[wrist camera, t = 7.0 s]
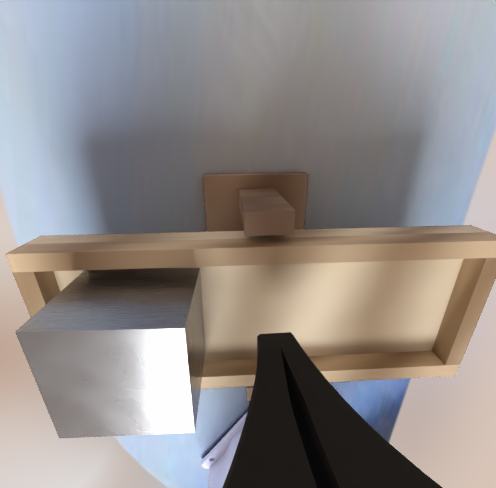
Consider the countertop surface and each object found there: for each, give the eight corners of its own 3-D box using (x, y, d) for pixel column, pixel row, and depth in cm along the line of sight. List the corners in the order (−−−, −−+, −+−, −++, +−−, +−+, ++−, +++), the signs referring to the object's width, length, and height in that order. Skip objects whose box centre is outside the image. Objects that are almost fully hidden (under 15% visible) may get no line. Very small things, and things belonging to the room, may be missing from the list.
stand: (304, 172, 16) (347, 191, 10) (292, 330, 20) (317, 403, 15) (203, 174, 15) (190, 195, 10) (215, 335, 20) (210, 412, 14)
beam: (463, 222, 13) (511, 240, 11) (424, 342, 16) (455, 375, 14) (47, 232, 12) (5, 254, 10) (88, 357, 15) (62, 395, 13)
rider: (200, 267, 12) (184, 328, 8) (205, 351, 14) (194, 432, 10) (86, 268, 11) (15, 331, 8) (107, 354, 13) (59, 438, 10)
